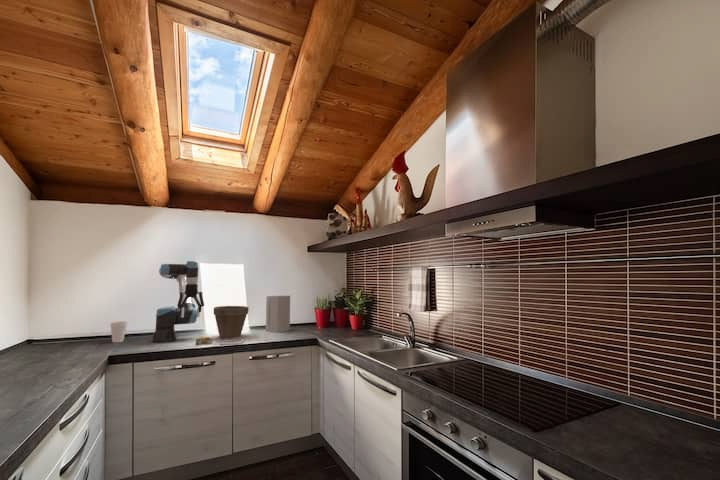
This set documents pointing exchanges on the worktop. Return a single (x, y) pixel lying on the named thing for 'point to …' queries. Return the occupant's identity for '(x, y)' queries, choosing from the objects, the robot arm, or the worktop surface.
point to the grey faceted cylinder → (277, 313)
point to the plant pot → (230, 320)
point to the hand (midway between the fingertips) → (190, 317)
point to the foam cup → (118, 331)
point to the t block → (204, 340)
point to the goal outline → (232, 343)
